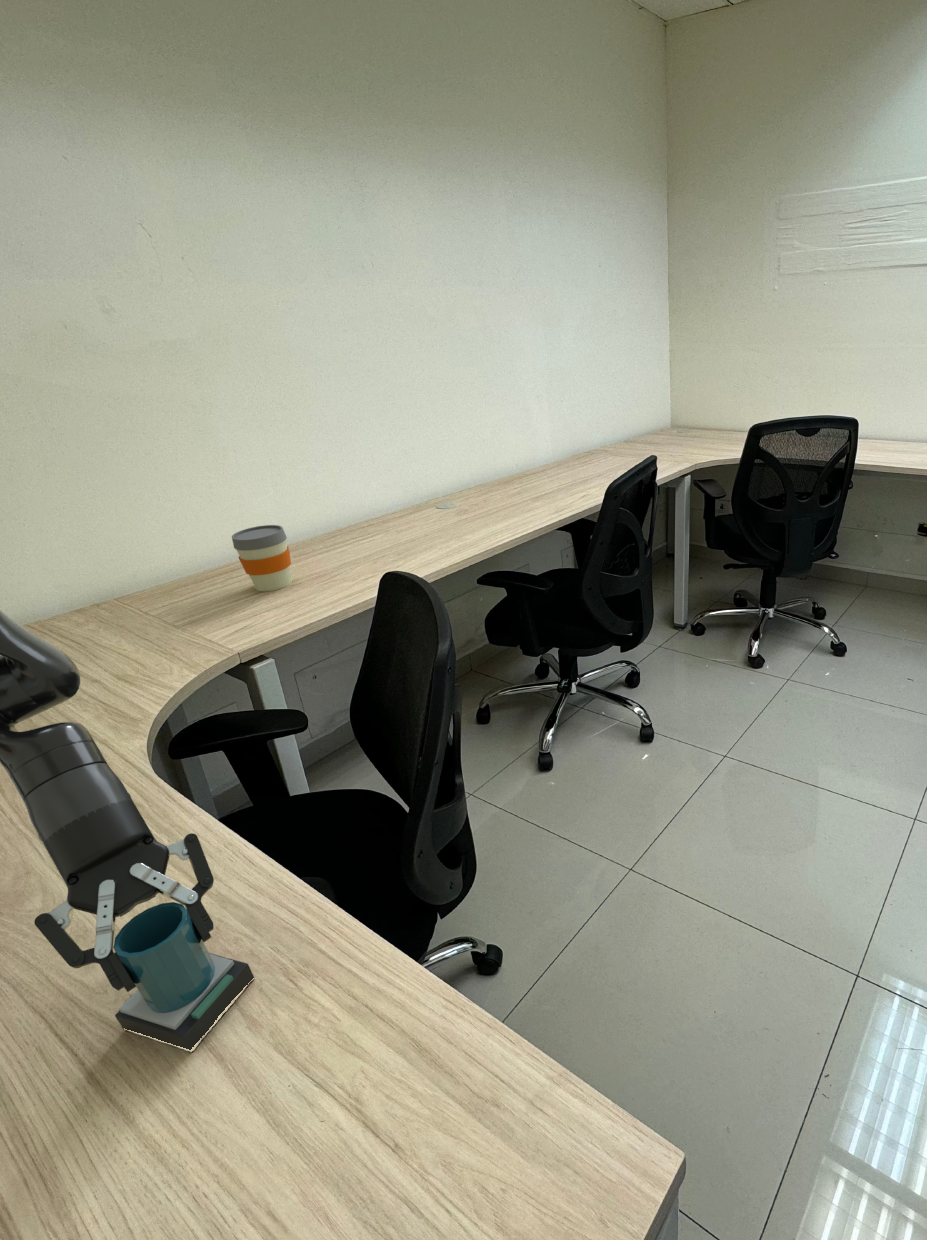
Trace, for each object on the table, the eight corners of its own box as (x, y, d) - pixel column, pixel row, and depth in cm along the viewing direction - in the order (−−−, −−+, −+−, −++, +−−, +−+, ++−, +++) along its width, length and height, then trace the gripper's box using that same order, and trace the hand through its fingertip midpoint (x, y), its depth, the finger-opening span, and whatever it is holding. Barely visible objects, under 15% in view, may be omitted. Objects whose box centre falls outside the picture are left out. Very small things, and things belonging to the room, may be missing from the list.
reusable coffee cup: (237, 592, 171) (218, 538, 165) (274, 574, 182) (258, 523, 176) (274, 596, 168) (256, 541, 161) (309, 577, 178) (294, 525, 172)
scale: (123, 1030, 66) (111, 1011, 64) (191, 960, 73) (181, 941, 71) (192, 1053, 63) (180, 1034, 62) (255, 978, 70) (246, 959, 69)
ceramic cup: (133, 1005, 65) (98, 948, 61) (185, 952, 70) (155, 897, 66) (178, 1019, 63) (145, 962, 59) (228, 964, 68) (200, 908, 65)
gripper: (-13, 857, 58) (77, 1021, 56) (167, 771, 68) (249, 909, 66) (4, 871, 63) (87, 1021, 61) (169, 790, 73) (244, 917, 71)
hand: (170, 962), depth 63 cm, fingers closed on ceramic cup, 6 cm apart
